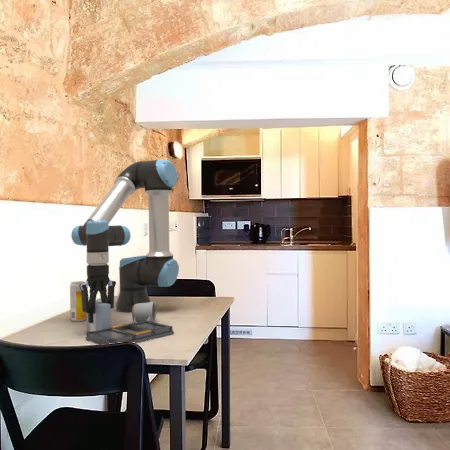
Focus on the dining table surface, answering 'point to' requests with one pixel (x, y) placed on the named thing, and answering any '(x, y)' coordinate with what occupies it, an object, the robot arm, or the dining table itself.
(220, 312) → the dining table surface
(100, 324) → the blue-grey rectangular block
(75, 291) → the beer can
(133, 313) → the ceramic mug
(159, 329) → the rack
